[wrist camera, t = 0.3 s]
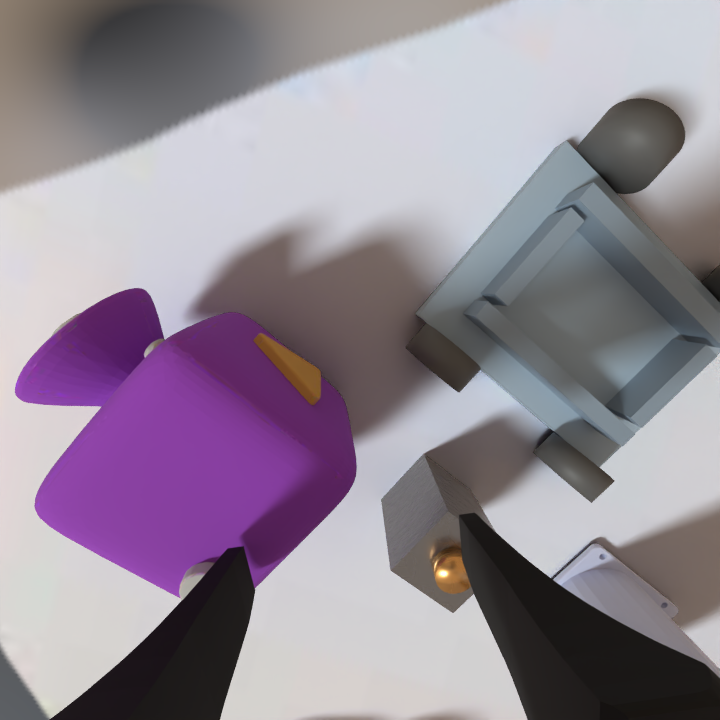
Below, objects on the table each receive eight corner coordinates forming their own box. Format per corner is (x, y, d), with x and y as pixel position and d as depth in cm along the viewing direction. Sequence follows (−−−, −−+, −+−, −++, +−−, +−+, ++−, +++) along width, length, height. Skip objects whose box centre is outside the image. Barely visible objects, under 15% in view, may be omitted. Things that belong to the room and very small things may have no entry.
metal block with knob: (471, 490, 23) (518, 570, 17) (428, 533, 24) (457, 627, 17) (423, 453, 23) (452, 522, 16) (381, 499, 23) (392, 583, 17)
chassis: (750, 303, 21) (842, 307, 17) (567, 480, 23) (611, 519, 19) (579, 118, 18) (641, 73, 14) (395, 337, 21) (404, 348, 17)
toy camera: (158, 251, 18) (-26, 227, 9) (365, 371, 21) (401, 453, 12) (79, 409, 20) (-146, 537, 10) (282, 499, 23) (254, 662, 13)
